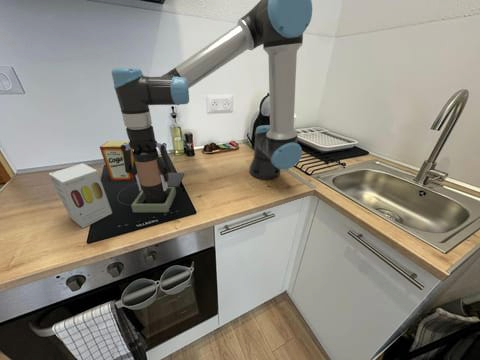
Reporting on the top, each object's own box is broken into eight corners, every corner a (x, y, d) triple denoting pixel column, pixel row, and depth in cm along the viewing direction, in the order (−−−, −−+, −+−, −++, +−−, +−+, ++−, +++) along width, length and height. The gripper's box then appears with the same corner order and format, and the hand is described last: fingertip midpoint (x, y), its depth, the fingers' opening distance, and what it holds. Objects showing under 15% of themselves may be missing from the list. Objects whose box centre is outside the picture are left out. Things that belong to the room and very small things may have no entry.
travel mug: (160, 208, 70) (148, 156, 60) (141, 205, 72) (126, 153, 62) (171, 196, 77) (162, 147, 67) (153, 193, 78) (141, 145, 68)
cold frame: (176, 193, 80) (175, 186, 78) (168, 212, 70) (166, 205, 68) (145, 193, 79) (144, 186, 78) (133, 212, 69) (131, 205, 67)
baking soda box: (111, 180, 87) (99, 145, 79) (117, 173, 93) (107, 140, 85) (133, 180, 88) (123, 146, 80) (138, 173, 93) (130, 140, 85)
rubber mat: (184, 173, 94) (184, 172, 94) (178, 187, 84) (178, 186, 84) (158, 173, 94) (158, 172, 93) (149, 187, 83) (149, 186, 83)
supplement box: (82, 229, 61) (59, 182, 53) (69, 218, 66) (45, 173, 57) (113, 212, 68) (97, 169, 60) (99, 203, 73) (82, 162, 64)
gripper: (176, 123, 64) (184, 183, 75) (111, 122, 63) (129, 183, 74) (170, 129, 57) (180, 194, 69) (97, 129, 56) (120, 195, 68)
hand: (154, 188), depth 72 cm, fingers closed on travel mug, 8 cm apart
